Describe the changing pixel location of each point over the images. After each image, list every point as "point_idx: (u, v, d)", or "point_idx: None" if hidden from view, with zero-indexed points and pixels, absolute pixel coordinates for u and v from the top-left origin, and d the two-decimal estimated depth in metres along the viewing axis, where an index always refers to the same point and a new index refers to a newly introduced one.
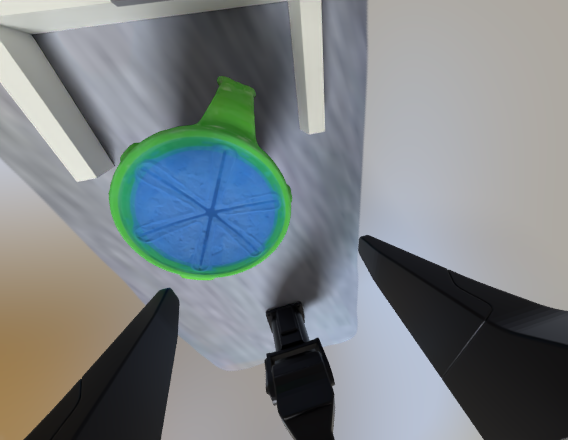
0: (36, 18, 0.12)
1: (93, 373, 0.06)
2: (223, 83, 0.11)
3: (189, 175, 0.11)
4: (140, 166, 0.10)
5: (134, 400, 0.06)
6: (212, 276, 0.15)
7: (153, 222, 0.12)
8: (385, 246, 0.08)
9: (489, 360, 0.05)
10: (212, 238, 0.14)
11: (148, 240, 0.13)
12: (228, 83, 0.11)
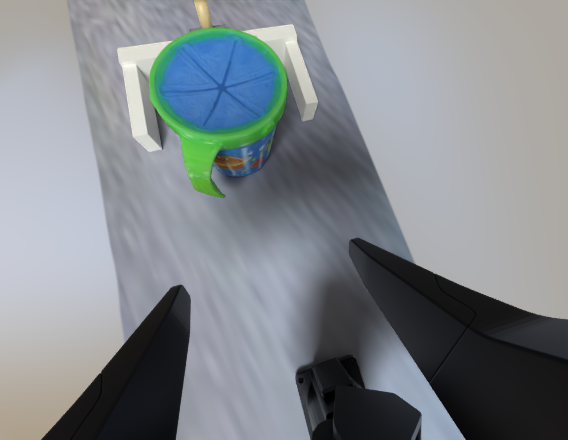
0: None
1: (112, 367, 0.06)
2: None
3: (210, 57, 0.16)
4: (181, 46, 0.16)
5: (152, 394, 0.06)
6: (212, 135, 0.14)
7: (175, 85, 0.15)
8: (374, 248, 0.08)
9: (472, 366, 0.05)
10: (219, 106, 0.16)
11: (166, 96, 0.15)
12: None
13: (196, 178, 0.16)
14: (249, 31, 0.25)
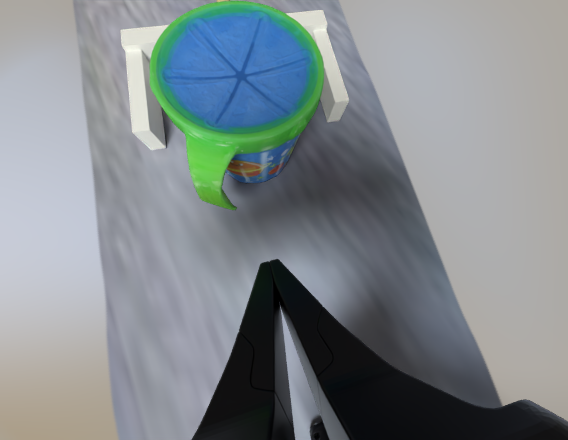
0: None
1: (249, 327, 0.06)
2: None
3: (228, 37, 0.13)
4: (192, 22, 0.13)
5: (280, 354, 0.06)
6: (227, 136, 0.11)
7: (183, 69, 0.12)
8: (284, 273, 0.08)
9: (328, 417, 0.05)
10: (237, 98, 0.12)
11: (171, 83, 0.12)
12: None
13: (203, 188, 0.13)
14: None
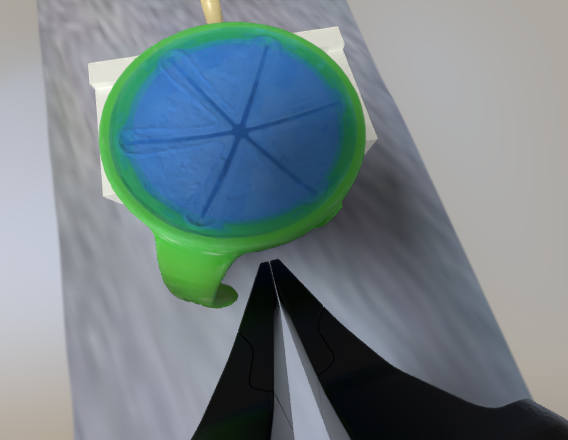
0: None
1: (248, 327, 0.06)
2: None
3: (220, 74, 0.09)
4: (168, 55, 0.09)
5: (279, 354, 0.06)
6: (219, 242, 0.07)
7: (153, 128, 0.08)
8: (284, 273, 0.08)
9: (329, 417, 0.05)
10: (234, 169, 0.08)
11: (133, 152, 0.08)
12: None
13: (187, 299, 0.09)
14: None
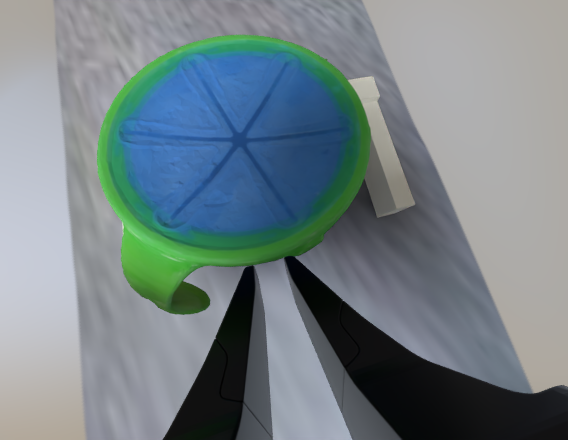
0: None
1: (225, 334, 0.06)
2: None
3: (235, 83, 0.09)
4: (190, 58, 0.09)
5: (258, 361, 0.06)
6: (178, 248, 0.06)
7: (156, 122, 0.08)
8: (299, 269, 0.08)
9: (355, 408, 0.05)
10: (221, 176, 0.08)
11: (129, 141, 0.08)
12: None
13: (146, 297, 0.08)
14: None
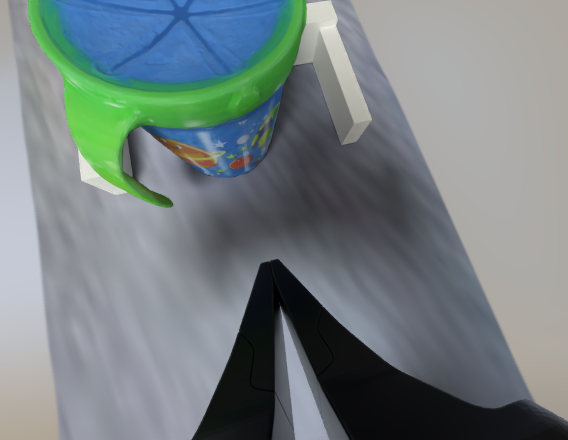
0: None
1: (249, 327, 0.06)
2: None
3: None
4: None
5: (280, 354, 0.06)
6: (117, 90, 0.07)
7: None
8: (284, 274, 0.08)
9: (328, 417, 0.05)
10: (162, 42, 0.08)
11: (62, 2, 0.08)
12: None
13: (100, 169, 0.09)
14: None
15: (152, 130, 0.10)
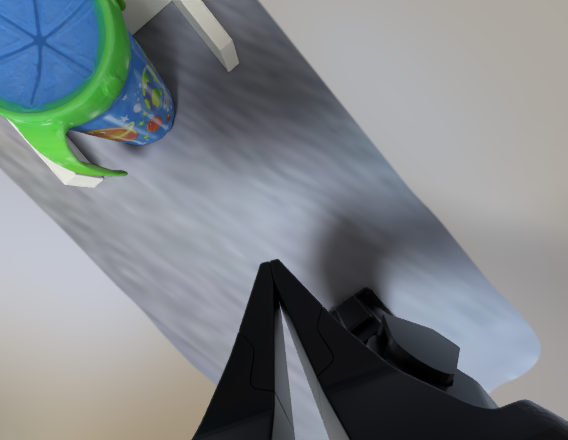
0: None
1: (249, 327, 0.06)
2: None
3: None
4: None
5: (280, 354, 0.06)
6: (42, 114, 0.12)
7: None
8: (283, 274, 0.08)
9: (328, 417, 0.05)
10: (43, 69, 0.12)
11: None
12: None
13: (68, 166, 0.15)
14: None
15: (79, 129, 0.15)
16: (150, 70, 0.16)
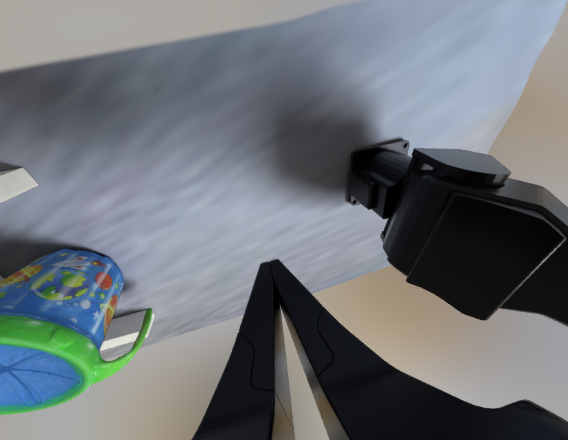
0: None
1: (249, 327, 0.06)
2: None
3: None
4: None
5: (280, 354, 0.06)
6: (86, 377, 0.15)
7: (21, 397, 0.16)
8: (284, 273, 0.08)
9: (328, 417, 0.05)
10: (39, 370, 0.15)
11: (41, 400, 0.16)
12: None
13: (134, 353, 0.19)
14: None
15: (101, 344, 0.18)
16: (38, 283, 0.16)
